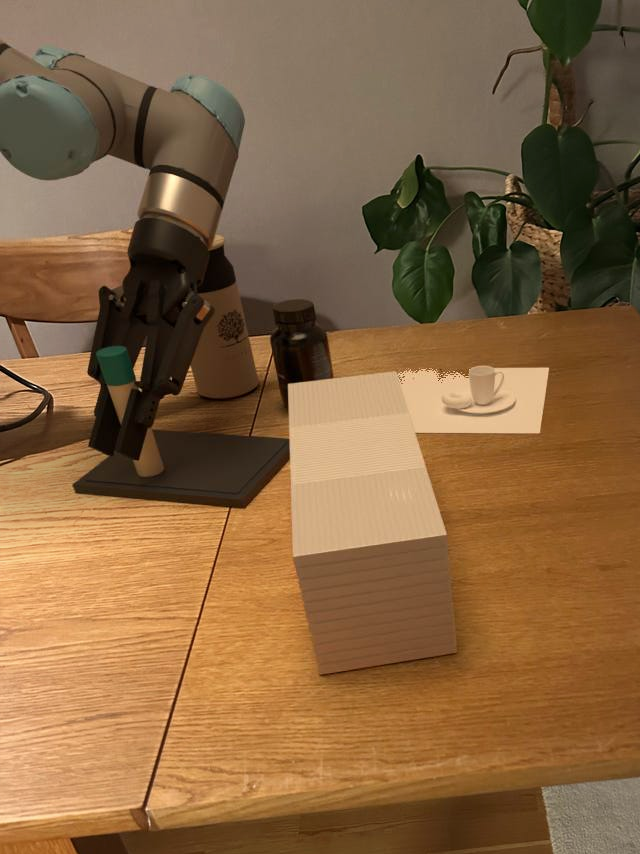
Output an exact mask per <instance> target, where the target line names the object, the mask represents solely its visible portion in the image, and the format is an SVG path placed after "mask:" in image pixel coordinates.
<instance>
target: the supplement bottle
mask: <svg viewBox="0 0 640 854" xmlns="http://www.w3.org/2000/svg"><path fill="white" fill-rule="evenodd" d="M272 313H273V321H274V325H275V326H277V327H275V328H274V330H273V331H272V332H271V334H270V338H269V341H270V347H271V353H272V357H273V364H274V368H275V374H276V377H277V383H278V388H279V392H280V397H281V402H282V404H283V406H284V407H285V409H287V410H289V405H288V384H293V383H300V382H309V381H317V380H326V379H334V378H335V376H334V375H335V374H334V369H333V363H332V357H331V351H330V344H329V338H328V333H327V331H326V330H325V328H324V327H323V326H322V325H321V324H319V323H317V322H316V321H317V320H318V319H317V317H318V316H317V314H316V310H315V304H314V302H313V301H312V300H309V299H304V298H303V299H302V298H295V299H294V298H293V299H287V300H282V301H279V302H276V303H275V304H273V306H272Z"/></svg>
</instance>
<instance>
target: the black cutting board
mask: <svg viewBox="0 0 640 854" xmlns="http://www.w3.org/2000/svg"><path fill="white" fill-rule="evenodd" d="M152 431H153V434H154V438H155V441H156V444H157V447H158V450H159V453H160V456H161V460H162V463H163V466H164V470H163V471H162V472H161V473H159V474H157V475H154V476H150V477H142V476H139V475H138V474H137V471H136V468H135V465H134V462H133V460H132V459H130V458H128V457H126V456H124V455H122V454H120V453H118V452H116V451H114V454H113V456H108V455H107V456H106V458H104V459H103V460H101V462H99V463H98V464H97V465H96V466H95V467H93V468H92V469H90V470H89V471H87V472H86V473H85V474H84V475H82V476H81V477H79V479H78V480H76V481H75V482H73V483H72V484H71V485H72V488H73V490H74V493H76V494H83V495H84V494H85V495H95V496H106V497H118V498H128V499H138V500H151V501H162V502H172V503H185V504H197V505H205V506H206V505H207V506H217V507H228V508H240V509H245V508H246V507H247V506H248V505H249V504H250V503H251V502H252V501H253V499H254V498H255V497H256V496H257V495H258V494H259V493H260V492H261V491H262V489H264V487H265V486H266V485H267V484H268V483H269V482H270V481H271V480H272V479H273V478H274V477H275V475H277V473H278V472H279V471H281V469H282V468H283V467H284V466H285V465H286V464H287V463H288V461H290V440H289V438H287V437H272V436H271V437H270V436H259V435H257V436H256V435H243V434H242V435H241V434H230V433H229V434H227V433H216V432H215V433H213V432H199V431H187V430H186V431H185V430H171V429H170V430H169V429H156V428H154V429H153V428H152Z"/></svg>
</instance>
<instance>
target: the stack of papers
mask: <svg viewBox="0 0 640 854" xmlns="http://www.w3.org/2000/svg"><path fill="white" fill-rule="evenodd" d="M397 375H398V373H397V371H396V370H393V371H384V372H376V373H369V374H368V373H367V374H361V375H352V376H351V375H350V376H343V377H334V379H326V380H317V381H309V382H300V383H293V384H288V405H289V409H288V432H289V433H288V435H289V436H288V437H289V438H288V439H289V440H290V459H289V467H290V468H289V473H290V476H289V477H290V505H291V506H290V507H291V509H290V510H291V541H292V545H291V546H292V559H293V564H294V567H295V573H296V577H297V582H298V586H299V590H300V595H301V599H302V602H303V603H302V604H303V608H304V612H305V618H306V622H307V626H308V630H309V634H310V639H311V643H312V648H313V652H314V656H315V661H316V664H317V665H316V666H317V670H318V674H319V676H321V675H327V674H332V673H339V672H345V671H351V670H357V669H358V670H359V669H365V668H370V667H371V668H372V667H377V666H383V665H390V664H394V663H401V662H408V661H414V660H421V659H426V658H433V657H439V656H445V655H451V654H457V653H458V645H457V634H456V623H455V613H454V599H453V591H452V589H453V588H452V580H451V570H450V569H451V567H450V566H451V565H450V558H449V556H450V553H449V546H448V545H449V541H448V533H447V530H446V527H445V524H444V519H443V517H442V514H441V511H440V508H439V505H438V502H437V498H436V495H435V492H434V489H433V485H432V482H431V479H430V475H429V471H428V470H427V466H426V463H425V460H424V456H423V453H422V450H421V446H420V444H419V443H420V442H419V440H418V436H417V433H415V430H414V427H413V424H412V421H411V417H410V414H409V411H408V408H407V405H406V401H405V398H404V395H403V392H402V388H401V385H400V382H399V379H398V376H397Z"/></svg>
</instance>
